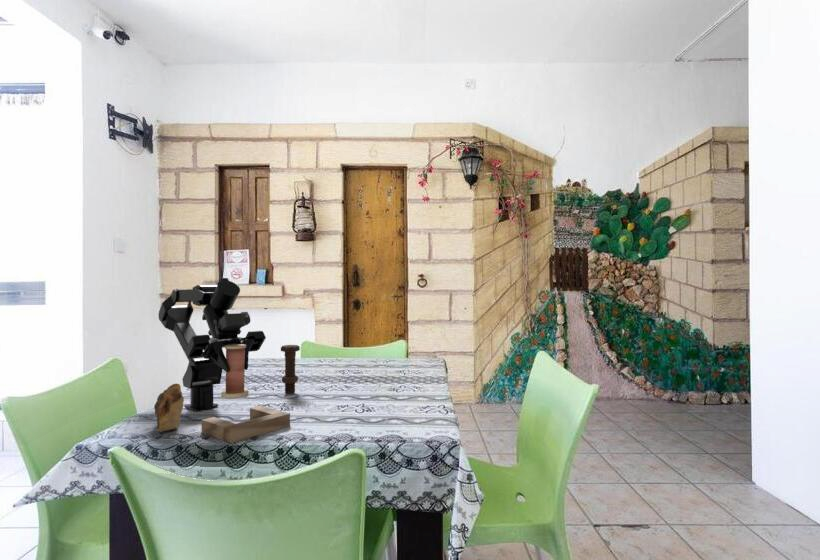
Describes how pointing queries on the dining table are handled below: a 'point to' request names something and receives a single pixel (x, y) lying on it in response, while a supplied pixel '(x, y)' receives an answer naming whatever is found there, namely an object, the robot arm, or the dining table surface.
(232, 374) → the bobbin
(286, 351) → the bolt
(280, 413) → the notch board
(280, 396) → the dining table surface
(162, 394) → the decorative rock
